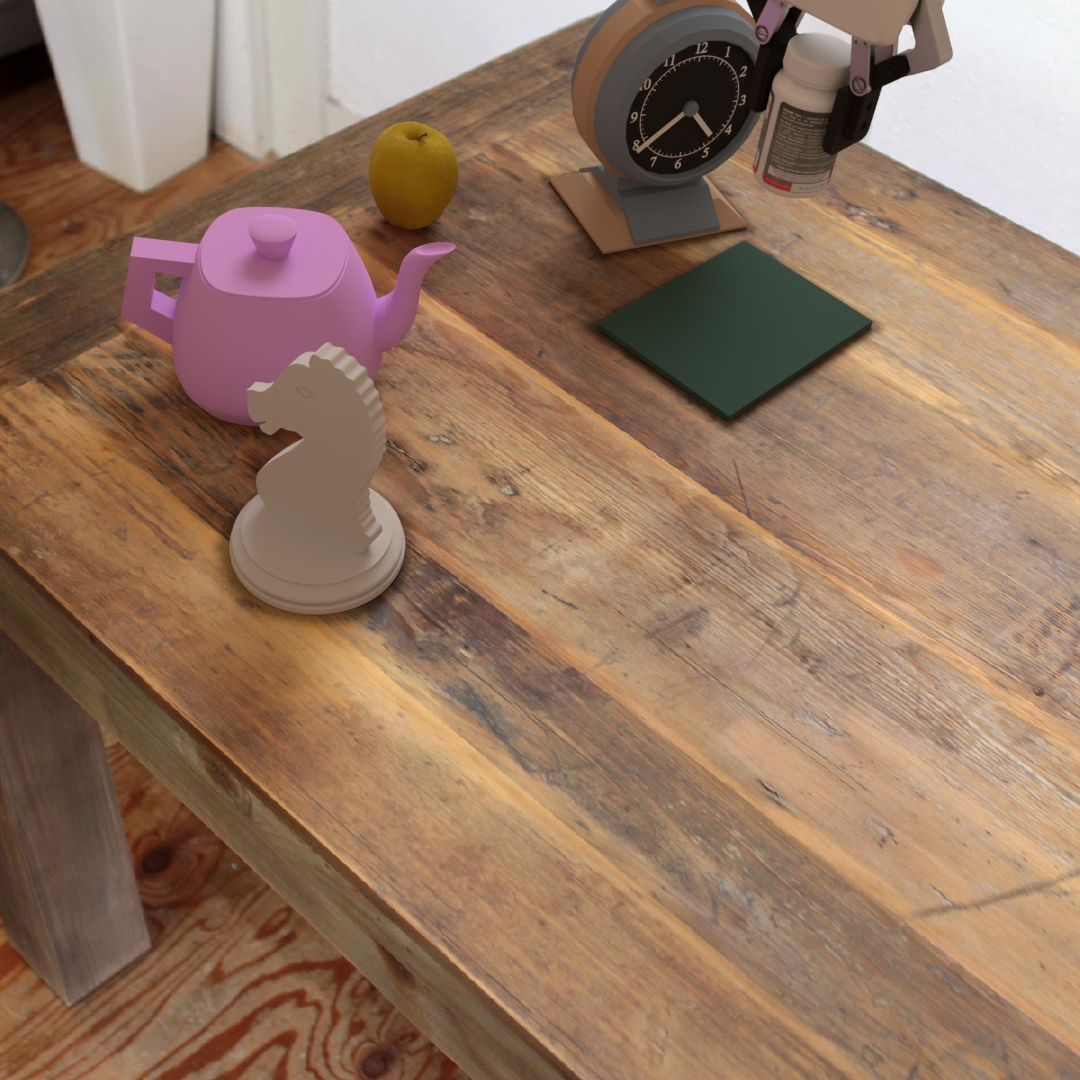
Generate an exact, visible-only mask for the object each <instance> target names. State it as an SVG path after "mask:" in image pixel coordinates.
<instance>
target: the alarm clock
mask: <svg viewBox="0 0 1080 1080" xmlns="http://www.w3.org/2000/svg"><path fill="white" fill-rule="evenodd" d="M755 25H756V23H755V21H754V18H753V16H752V14H750V12H748V11H747V9H745V8H744V7H743V6H742V4H740V3H739V2H738V1H737V0H615V1H614V2H612V4H610V5H609V6H608V7H606V9H604V10H603V11H602V13H601V14H599V16H598V17H597V19H596V20H595V21H594V23H593V24H592V25H591V27H590V28H589V29H588V31H587V33H586V34H585V37H584V39H583V41H582V43H581V44H580V46H579V49H578V50H577V55H576V59H575V62H574V65H573V66H574V67H573V71H572V74H571V83H570V84H571V87H570V89H571V92H570V93H571V97H570V98H571V103H572V116H573V120H574V122H575V126H576V129H577V133H578V135H579V136H580V137H581V139H582V140H583V142H584V143H585V144H586V146H587V148H588V149H589V150H590V151H591V152H592V154H593V155H594V157H595V158H596V159H597V160H598V161H599V163H601V164H598V165H592V166H586V167H580V168H578V173H573V174H566V175H560V176H553V177H549V183H550V184H551V185H552V187H553V188H554V190H555V191H556V192H557V194H558V195H559V196H560V198H561V199H562V200H563V202H564V203H565V204H566V206H567V207H568V208H569V210H570V211H571V213H572V214H573V215H574V217H575V218H576V219H577V221H578V222H579V224H580V225H581V226H582V228H583V229H584V230H585V232H586V233H587V234H588V235H589V237H590V238H591V240H592V241H593V243H594V244H595V246H597V248H598V249H599V250H600V252H601V254H603V255H606V254H611V253H617V252H623V251H627V250H634V249H638V248H639V249H640V248H644V247H650V246H654V245H655V246H656V245H659V244H665V243H670V242H671V243H672V242H676V241H681V240H687V239H693V238H698V237H704V236H709V235H713V234H718V233H724V232H729V231H736V230H741V229H746V228H748V227H749V225H748V223H747V222H746V221H745V219H744V218H743V217H742V216H741V215H740V214H739V212H738V211H737V210H736V209H735V208H734V207H733V206H732V205H731V204H730V202H729V201H728V199H726V197H725V196H724V195H723V194H722V193H721V192H720V191H719V189H718V188H717V187H716V186H715V185H714V184H713V182H712V181H711V180H710V179H709V177H708V176H707V175H708V174H709V173H712V172H713V171H715V170H717V169H718V168H719V167H721V165H724V163H725V162H727V161H728V160H729V159H730V158H732V157H733V156H734V155H735V154H736V152H737V151H738V150H740V148H741V147H742V146H743V145H744V144H745V142H746V141H747V140H748V139H749V137H750V136H751V134H752V132H753V131H754V129H755V128H756V125H757V124H758V122H759V120H760V118H761V115H762V112H761V113H760V112H759V113H755V112H753V111H752V110H750V109H749V102H750V97H751V93H752V89H753V87H752V84H751V82H752V77H753V73H754V68H755V64H756V60H757V55H758V51H759V47H760V44H759V43H758V42H757V41H756V40H755V38H754V34H753V30H754V27H755Z"/></svg>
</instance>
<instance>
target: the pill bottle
mask: <svg viewBox="0 0 1080 1080" xmlns="http://www.w3.org/2000/svg"><path fill="white" fill-rule="evenodd" d="M850 62H851V43H849V42H848V41H846V40H844V39H843V38H840V37H839V36H834V35H831V34H827V33H822V32H813V31H812V32H803V33H799V34H798V35H796V36H794V37H793V38H791V39H790V41H789V43H788V46H787V49H786V53H785V56H784V59H783V68H782V69H781V70H779V71H778V72H777V74H776V75H775V77H774V80H773V83H772V87H771V91H770V96H769V100H768V104H767V109H766V110H765V114H764V117H763V122H762V126H761V129H760V134H759V138H758V143H757V146H756V150H755V154H754V159H753V162H752V174H753V177H754V179H755V180H756V182H757V183H758V184H759V185H760V186H761V187H763V188H764V189H765V190H767V191H768V192H770V193H772V194H775V195H778V196H781V197H783V198H790V199H809V198H813V197H817V196H819V195H821V194H822V193H824V192H825V191H826V190H827V189H828V186H829V185H830V182H831V179H832V175H833V171H834V167H835V165H836V161H837V158H838V153H839V152H838V153H836V154H835V155H833V156H831V155H829V154H827V153H826V152H824V151H823V148H822V144H823V141H824V137H825V134H826V130H827V127H828V123H829V120H830V116H831V112H832V109H833V105H834V102H835V98H836V95H837V92H838V91H839V89H841V88H842V87H844V86H846V85H848V84H849V82H850Z"/></svg>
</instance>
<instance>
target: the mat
mask: <svg viewBox="0 0 1080 1080" xmlns="http://www.w3.org/2000/svg"><path fill="white" fill-rule="evenodd" d="M873 322H874V320H872V319H870V318H869V317H867V316H866V315H864V314H863V313H861V312H859V311H857V310H856V309H854V307H851V305H848V304H847V303H845V302H844V301H842V300H840V298H838V297H836V296H834V295H832V294H831V293H829V292H828V291H827V290H825V289H823V288H822V287H820V286H819V285H816V284H815V283H813V282H812V281H811V280H809V279H808V278H806V277H805V276H803V275H801V274H799V273H798V272H796V271H795V270H793V269H792V268H790V267H788V266H787V265H785V264H783V263H782V262H781V261H779V260H778V259H776V258H774V257H772V256H771V255H769V254H768V253H766V252H764V251H763V250H761V249H760V248H758V247H757V246H755V245H754V244H752V243H751V242H749V241H747V240H746V239H744V240H742V241H740V242H738V243H736V244H734V245H733V246H731V247H729V248H727V249H725V250H724V251H722V252H720V253H718V254H717V255H715V256H713V257H711V258H709V259H707V260H706V261H704V262H702V263H700V264H698V265H697V266H695V267H693V268H691V269H690V270H688V271H687V272H684V273H683V274H681V275H679V276H677V277H676V278H674V279H672V280H670V281H668V282H667V283H665V284H663V285H661V286H660V287H658V288H655V289H654V290H652V291H650V292H649V293H647V294H645V295H644V296H642V297H640V298H638V299H636V300H635V301H632V302H631V303H629V304H627V305H626V306H624V307H622V308H620V309H619V310H617V311H614V312H613V313H611V314H610V315H608V316H606V317H604V318H602V319H600V320H599V321H597V322H596V326H595V328H596V329H597V330H599V331H600V332H601V333H603V334H604V335H606V336H607V337H608V338H610V340H612V341H614V342H616V343H617V344H618V345H619V346H621V347H622V348H624V349H625V350H627V351H628V352H629V353H631V354H632V355H633V356H634V357H636V358H638V359H639V360H641V361H642V362H644V363H645V364H646V365H647V366H649V367H651V369H653V370H654V371H656V372H657V373H658V374H660V375H662V376H663V377H664V378H665V379H667V380H668V381H670V382H671V383H673V384H674V385H675V386H677V387H678V388H679V389H681V390H683V391H684V392H685V393H687V394H688V395H689V396H691V397H692V398H693V399H695V400H697V401H698V402H699V403H700V404H702V405H703V406H705V407H707V409H709V410H711V411H712V412H713V413H715V414H716V415H717V416H718V417H720V418H721V419H723V420H724V421H726V422H730V421H731V420H733V419H734V418H736V417H738V415H740V414H742V413H743V412H744V411H746V410H748V409H749V408H751V407H752V406H754V405H755V404H756V403H758V402H760V401H761V400H762V399H764V398H766V397H767V396H769V395H770V394H772V393H774V392H775V391H777V390H778V389H779V388H781V387H783V386H784V385H785V384H787V383H789V381H791V380H793V379H794V378H795V377H797V376H799V375H801V374H802V373H804V372H805V371H807V369H809V368H811V367H813V366H814V365H815V364H817V363H818V362H820V361H821V360H823V359H824V358H826V357H827V356H828V355H830V354H832V353H833V352H835V351H837V350H838V349H840V348H841V347H842V346H844V345H845V344H847V343H849V342H850V341H851V340H853V339H854V338H855V337H857V336H859V335H861V334H862V333H864V332H865V331H866V330H868V329H870V328H871V327H872V325H873Z"/></svg>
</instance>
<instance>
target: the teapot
mask: <svg viewBox="0 0 1080 1080" xmlns="http://www.w3.org/2000/svg"><path fill="white" fill-rule="evenodd" d="M456 246H457V245H456V244H454V243H453V242H448V241H437V242H430V243H425V244H422V245H419V246H417V247H415V248H412V250H411V251H409V252H408V253H407V255H406V256H405V257H404V258H403V260H402V262H401V263H400V267H399V272H398V275H397V281H396V285H395V287H394V289H393V290H392V291H391V292H389V293H388V294H386V295H383V296H380V297H377V293H376V291H375V288H374V285H373V282H372V279H371V277H370V275H369V272H368V270H367V268H366V265H365V263H364V261H363V259H362V258H361V256H360V254H359V253H358V251H357V249H356V247H355V245H354V243H353V242H352V240H351V239H350V237H349V235H348V234H347V232H346V230H345V228H343V226H342V225H341V224H340V223H339V222H338V221H337V220H336V219H335V218H333V217H332V216H330V215H328V214H326V213H322V212H319V211H315V210H308V209H301V208H291V207H280V206H245V207H237V208H233V209H230V210H228V211H225V212H224V213H222V214H220V215H219V216H218V217H217V218H215V219H214V221H212V222H211V223H210V225H209V227H208V228H207V229H206V231H205V232H204V235H203V236H202V239H201V240H200V242H199V243H193V242H192V243H191V242H183V241H175V240H174V241H173V240H166V239H157V238H149V237H139V236H133V240H132V246H131V249H130V256H129V262H128V269H127V274H126V280H125V287H124V293H123V299H122V306H121V310H120V317H121V318H123V319H125V320H127V321H129V322H130V323H132V324H133V325H136V326H137V327H139V328H141V329H142V330H144V331H145V332H148V333H150V334H152V335H153V336H155V337H157V338H158V339H160V340H162V341H164V342H166V343H167V344H169V345H171V346H172V348H171V349H172V358H173V363H174V369H175V372H176V375H177V378H178V380H179V382H180V384H181V387H182V388H183V390H184V392H185V394H187V396H188V397H189V398H190V399H191V400H192V402H194V403H195V404H196V405H197V406H198V407H199V408H201V409H202V410H204V412H206V413H208V414H209V415H211V416H212V417H214V418H216V419H219V420H221V421H224V422H227V423H231V424H237V425H243V426H251V427H259V428H260V426H259V425H260V424H261V423H263V422H254V421H253V420H252V419H251V417H250V415H249V413H248V408H247V398H248V395H247V389H249V388H250V387H251V386H252V385H253V384H254V383H255V382H263V383H272V382H275V380H276V379H277V378H278V377H279V375H280V374H281V373H282V372H283V370H284V369H285V368H286V367H288V366H289V365H290V364H291V363H292V362H293V361H294V360H295V359H297V358H298V357H299V356H300V355H302V354H303V353H305V352H316V351H317V350H318V349H319V348H320V347H322V346H323V345H324V344H325V343H327V342H329V343H331V344H332V345H333V346H335V347H342V348H343V349H344V350H345V352H346V354H347V355H349V356H352V357H354V358H355V359H356V360H357V361H358V363H359V364H360V365H361V366H363V367H365V368H366V369H367V374H368V377H369V378H370V379H371V380H372V381H373V382H374V380H375V379H376V376H377V374H378V371H379V368H380V365H381V362H382V359H383V353H384V352H386V351H388V350H390V349H393V348H394V347H396V346H397V345H398V344H399V343H401V341H403V340H404V339H405V338H406V336H407V335H408V334H409V332H410V330H411V329H412V327H413V325H414V322H415V320H416V316H417V313H418V308H419V304H420V303H419V302H420V295H421V289H422V284H423V280H424V278H425V276H426V273H427V272H428V270H429V268H430V267H431V266H432V265H433V264H434V263H435V262H437V261H438V260H440V259H441V258H443V257H445V256H448V255H449V254H450V253H453V252H454V251H455V249H456ZM156 273H159V274H163V275H169V276H174V277H179V278H182V280H181V284H180V286H179V290H178V292H177V297H176V300H175V299H174V298H172V297H170V296H168V295H167V294H164V293H163V292H161V291H159V290H158V289H156V288H155V278H156V276H155V275H156Z"/></svg>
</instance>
